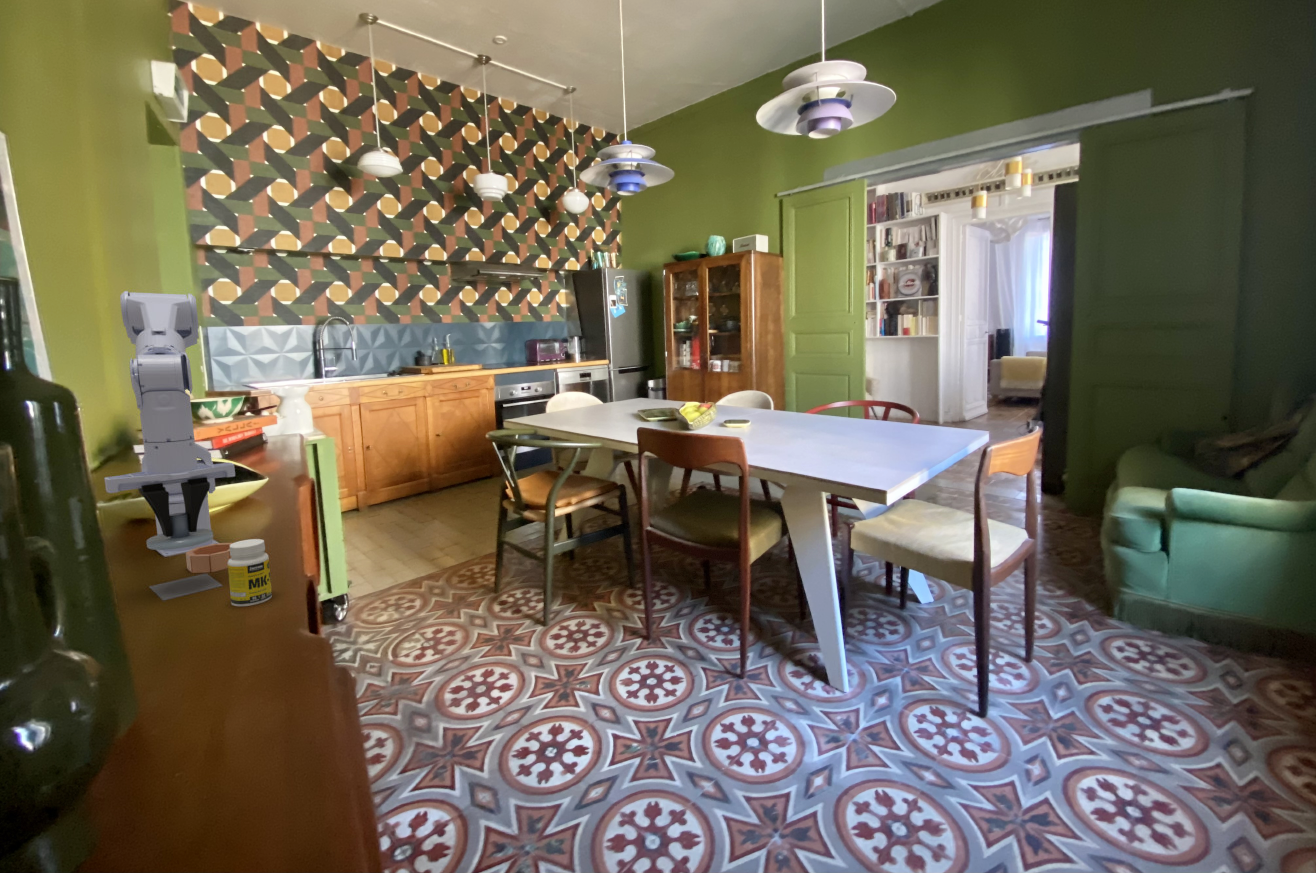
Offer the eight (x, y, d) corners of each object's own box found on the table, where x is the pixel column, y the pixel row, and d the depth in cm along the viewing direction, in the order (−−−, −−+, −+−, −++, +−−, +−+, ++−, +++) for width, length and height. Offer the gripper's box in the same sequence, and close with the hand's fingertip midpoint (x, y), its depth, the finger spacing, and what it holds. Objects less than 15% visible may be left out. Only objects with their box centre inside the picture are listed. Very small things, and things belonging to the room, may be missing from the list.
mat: (149, 589, 90) (148, 586, 90) (206, 575, 96) (206, 573, 95) (163, 603, 85) (163, 600, 85) (223, 588, 90) (222, 585, 90)
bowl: (184, 568, 99) (181, 550, 98) (232, 557, 104) (230, 540, 103) (196, 577, 95) (193, 558, 94) (245, 566, 100) (243, 548, 99)
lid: (141, 542, 89) (137, 515, 88) (204, 530, 95) (201, 505, 94) (154, 553, 84) (150, 524, 84) (220, 540, 90) (217, 513, 89)
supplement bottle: (252, 610, 83) (246, 549, 82) (222, 607, 84) (216, 547, 82) (280, 596, 87) (275, 538, 86) (252, 593, 88) (246, 536, 87)
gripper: (107, 448, 79) (120, 551, 81) (238, 436, 90) (247, 526, 92) (96, 443, 84) (109, 540, 86) (222, 432, 95) (231, 518, 97)
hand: (179, 532), depth 89 cm, fingers closed on lid, 2 cm apart
